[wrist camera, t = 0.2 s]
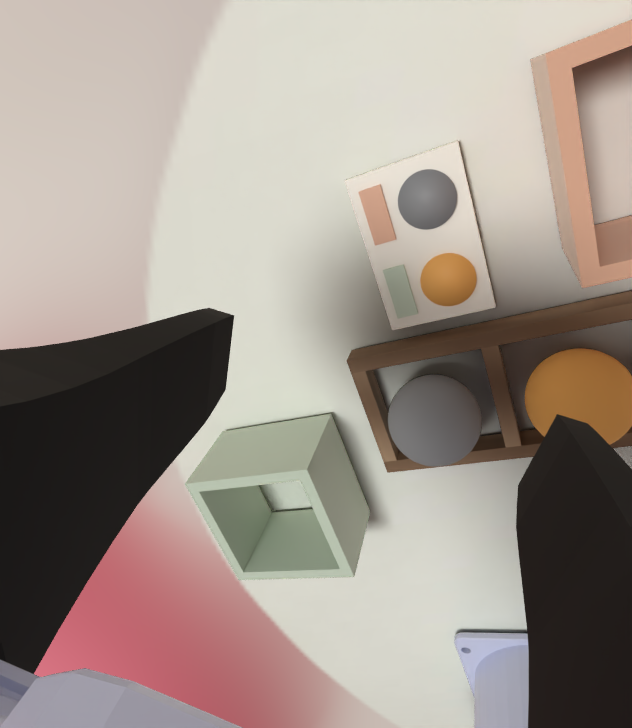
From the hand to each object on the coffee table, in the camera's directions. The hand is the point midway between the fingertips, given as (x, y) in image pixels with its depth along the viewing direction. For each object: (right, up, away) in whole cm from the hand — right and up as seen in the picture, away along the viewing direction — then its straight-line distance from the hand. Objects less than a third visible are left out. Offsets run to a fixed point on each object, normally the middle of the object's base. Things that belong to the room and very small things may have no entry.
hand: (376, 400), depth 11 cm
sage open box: (-2, -5, +15) cm, 15 cm away
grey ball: (+3, -1, +9) cm, 10 cm away
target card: (+3, +5, +8) cm, 10 cm away
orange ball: (+8, 0, +7) cm, 11 cm away
